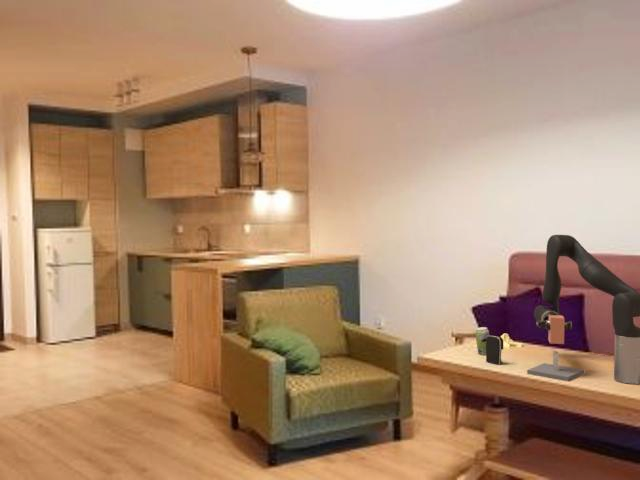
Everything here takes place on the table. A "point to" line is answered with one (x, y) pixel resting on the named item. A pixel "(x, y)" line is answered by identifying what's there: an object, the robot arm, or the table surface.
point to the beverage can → (481, 339)
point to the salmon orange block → (556, 329)
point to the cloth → (509, 342)
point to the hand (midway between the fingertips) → (557, 327)
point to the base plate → (555, 372)
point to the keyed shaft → (555, 361)
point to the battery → (494, 349)
